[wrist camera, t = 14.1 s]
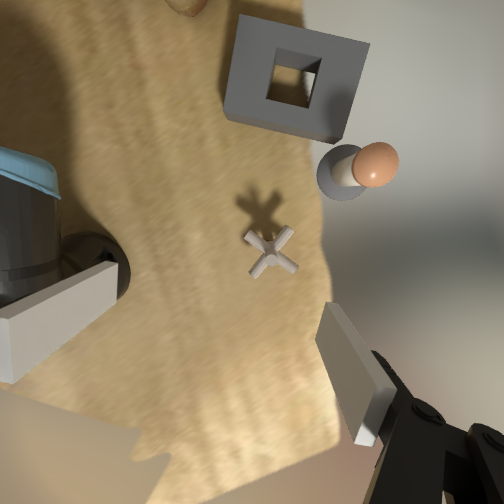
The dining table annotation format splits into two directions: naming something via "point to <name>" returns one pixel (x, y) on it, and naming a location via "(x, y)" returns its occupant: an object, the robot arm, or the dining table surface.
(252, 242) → the pipe connector
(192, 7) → the bread roll
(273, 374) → the dining table surface
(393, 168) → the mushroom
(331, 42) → the grey flat block
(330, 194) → the grey round plate
